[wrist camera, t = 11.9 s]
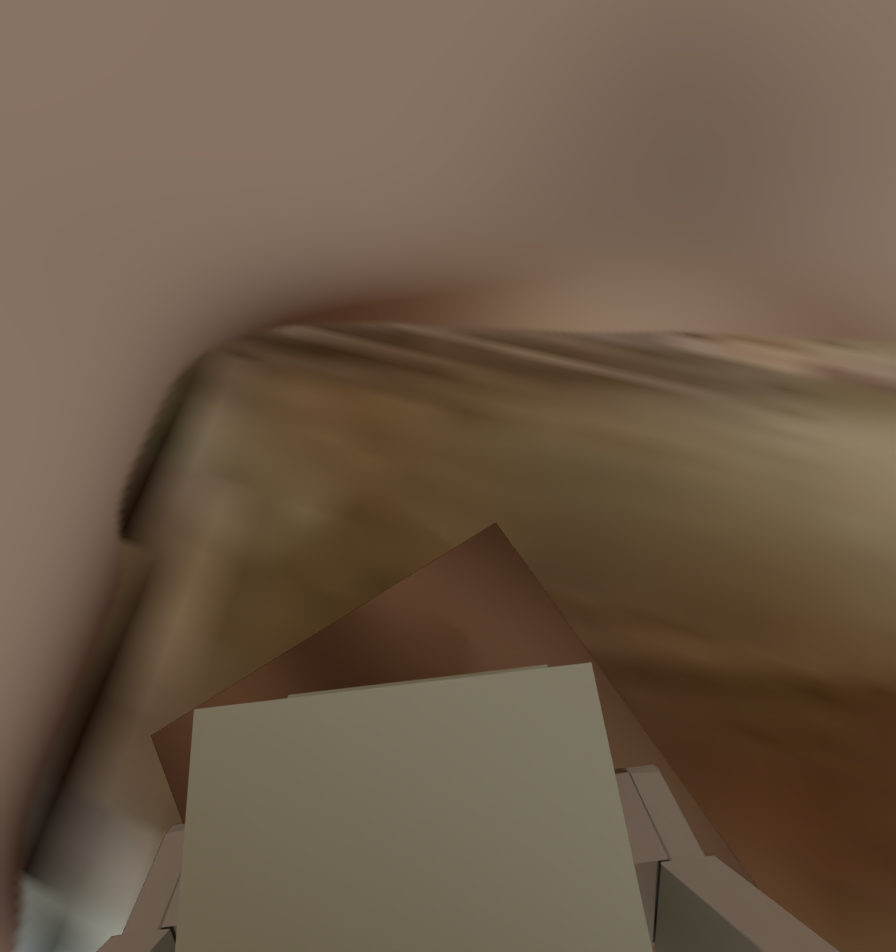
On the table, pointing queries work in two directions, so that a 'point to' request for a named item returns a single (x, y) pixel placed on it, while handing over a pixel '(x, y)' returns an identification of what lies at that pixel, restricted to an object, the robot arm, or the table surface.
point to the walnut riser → (446, 658)
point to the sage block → (410, 821)
